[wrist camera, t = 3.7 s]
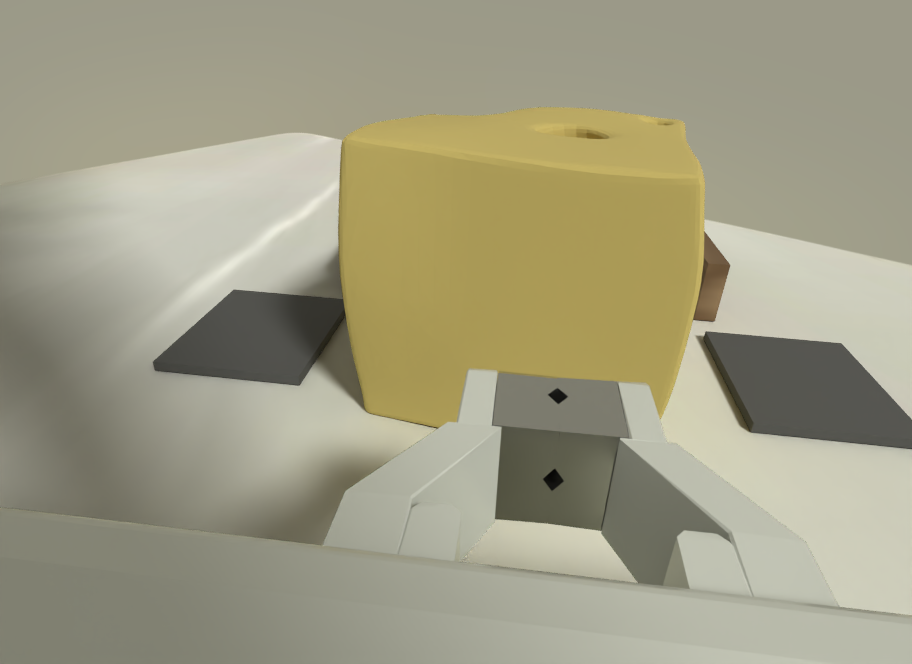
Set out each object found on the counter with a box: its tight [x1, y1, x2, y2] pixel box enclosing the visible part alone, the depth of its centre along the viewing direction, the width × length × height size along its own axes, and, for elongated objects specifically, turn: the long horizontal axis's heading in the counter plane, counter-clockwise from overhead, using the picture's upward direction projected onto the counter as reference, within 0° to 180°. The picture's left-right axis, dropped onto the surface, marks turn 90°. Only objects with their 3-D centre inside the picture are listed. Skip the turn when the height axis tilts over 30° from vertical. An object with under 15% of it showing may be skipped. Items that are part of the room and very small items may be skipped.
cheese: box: [338, 107, 705, 428], centre depth 22 cm, size 10×11×10 cm
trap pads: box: [153, 290, 912, 449], centre depth 25 cm, size 29×7×1 cm, turn 83°
